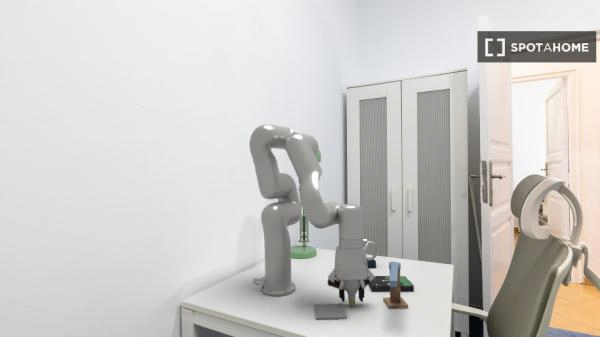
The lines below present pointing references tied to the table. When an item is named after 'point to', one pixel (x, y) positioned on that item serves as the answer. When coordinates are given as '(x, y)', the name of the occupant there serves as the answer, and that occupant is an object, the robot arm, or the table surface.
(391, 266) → the latch arm
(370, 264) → the watch
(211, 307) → the table surface
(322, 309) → the mat
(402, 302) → the post
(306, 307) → the table surface
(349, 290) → the light bulb
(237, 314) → the table surface
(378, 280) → the disk drive
